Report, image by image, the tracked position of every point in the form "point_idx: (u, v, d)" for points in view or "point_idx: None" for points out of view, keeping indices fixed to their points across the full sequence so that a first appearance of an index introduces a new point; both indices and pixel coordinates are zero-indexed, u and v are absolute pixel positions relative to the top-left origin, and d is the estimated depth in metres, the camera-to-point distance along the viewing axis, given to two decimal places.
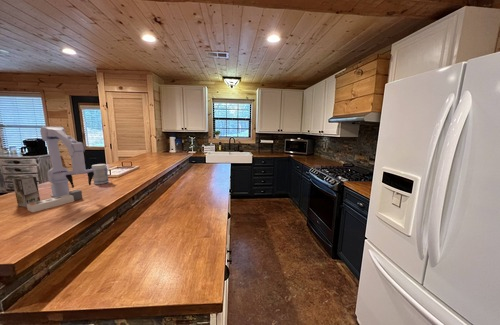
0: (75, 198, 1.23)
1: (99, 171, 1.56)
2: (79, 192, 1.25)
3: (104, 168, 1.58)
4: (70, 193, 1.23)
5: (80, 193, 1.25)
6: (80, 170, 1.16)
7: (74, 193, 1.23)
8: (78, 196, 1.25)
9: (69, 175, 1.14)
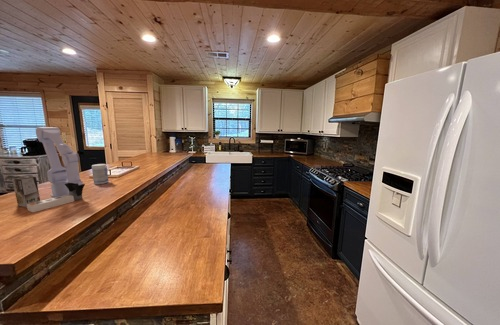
0: (75, 198, 1.23)
1: (99, 171, 1.56)
2: None
3: (104, 168, 1.58)
4: (70, 193, 1.23)
5: None
6: (68, 180, 1.21)
7: (74, 193, 1.23)
8: (78, 196, 1.25)
9: (69, 182, 1.25)
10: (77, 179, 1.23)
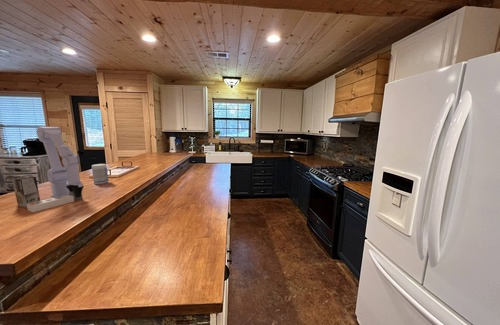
0: (75, 198, 1.23)
1: (99, 171, 1.56)
2: None
3: (104, 168, 1.58)
4: (70, 193, 1.23)
5: None
6: (68, 182, 1.21)
7: (74, 193, 1.23)
8: None
9: None
10: (77, 181, 1.23)
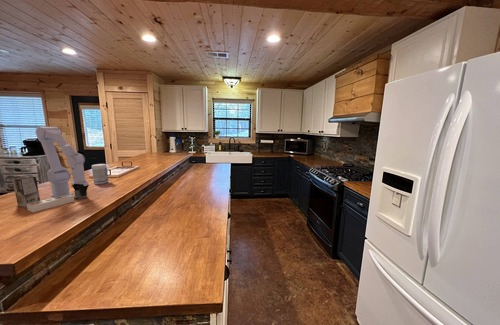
0: (80, 197, 1.26)
1: (99, 171, 1.56)
2: None
3: (104, 168, 1.58)
4: (75, 192, 1.26)
5: None
6: (74, 181, 1.24)
7: (79, 192, 1.25)
8: None
9: None
10: (82, 180, 1.25)
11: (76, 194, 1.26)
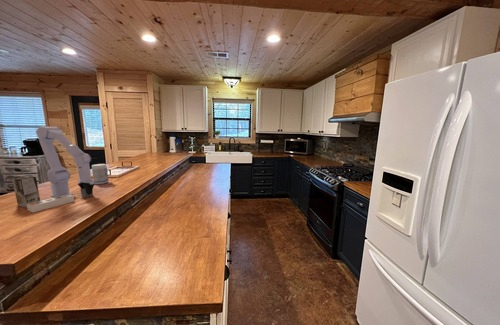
0: (86, 195, 1.28)
1: (99, 171, 1.56)
2: None
3: (104, 168, 1.58)
4: (81, 190, 1.28)
5: None
6: (80, 179, 1.26)
7: (85, 190, 1.28)
8: None
9: (80, 182, 1.31)
10: (89, 179, 1.28)
11: (82, 192, 1.28)
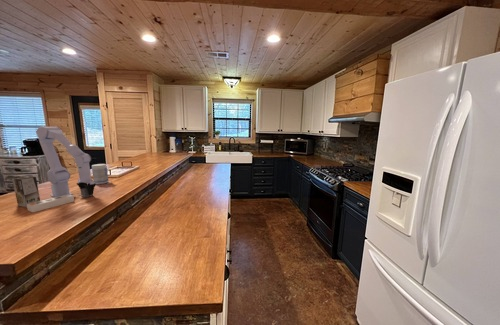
0: (86, 195, 1.28)
1: (99, 171, 1.56)
2: None
3: (104, 168, 1.58)
4: (81, 190, 1.28)
5: None
6: (80, 179, 1.26)
7: (85, 190, 1.28)
8: None
9: (80, 182, 1.31)
10: (89, 179, 1.28)
11: (82, 192, 1.28)
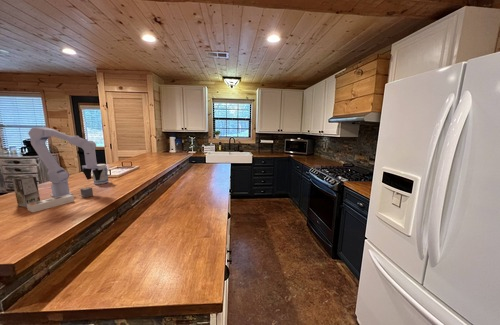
0: (86, 195, 1.28)
1: None
2: (90, 189, 1.30)
3: (104, 168, 1.58)
4: (81, 190, 1.28)
5: (91, 190, 1.31)
6: (87, 166, 1.30)
7: (85, 190, 1.28)
8: (89, 193, 1.30)
9: (85, 168, 1.34)
10: (95, 165, 1.33)
11: (82, 192, 1.28)
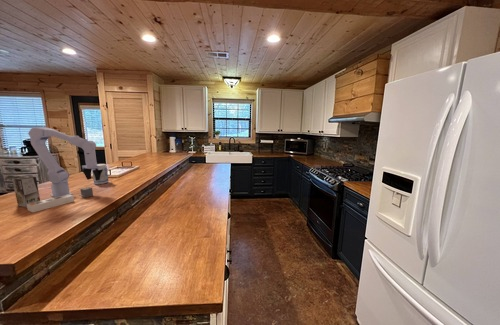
0: (86, 195, 1.28)
1: None
2: (90, 189, 1.30)
3: (104, 168, 1.58)
4: (81, 190, 1.28)
5: (91, 190, 1.31)
6: (87, 166, 1.30)
7: (85, 190, 1.28)
8: (89, 193, 1.30)
9: (85, 168, 1.34)
10: (95, 165, 1.33)
11: (82, 192, 1.28)
